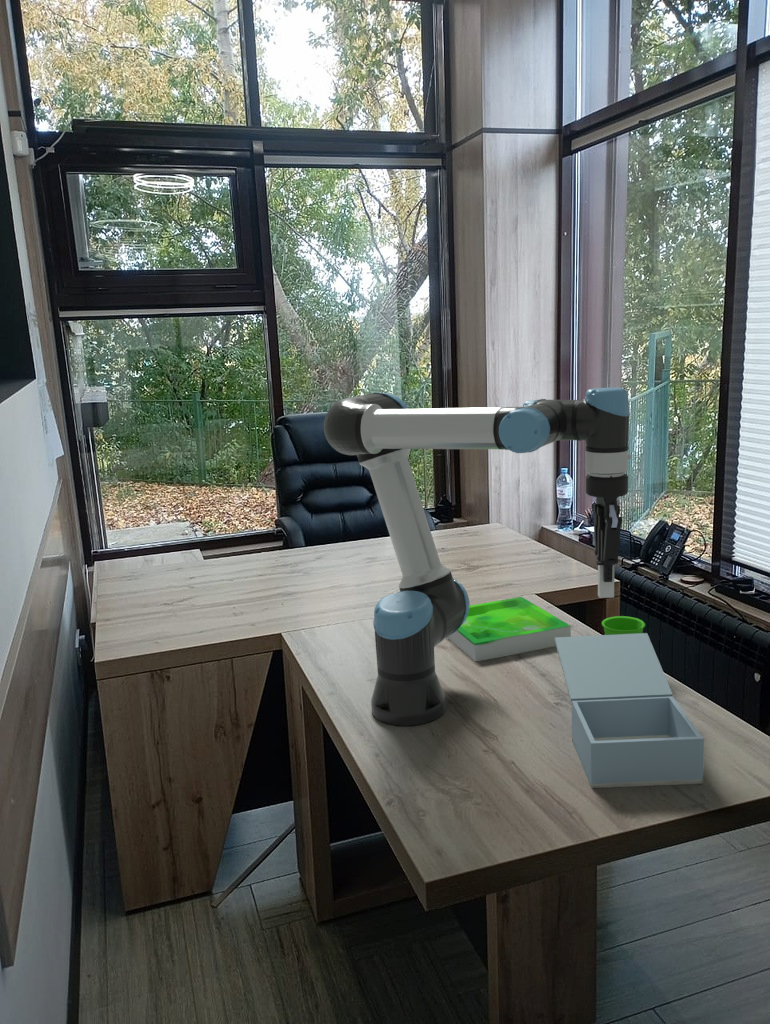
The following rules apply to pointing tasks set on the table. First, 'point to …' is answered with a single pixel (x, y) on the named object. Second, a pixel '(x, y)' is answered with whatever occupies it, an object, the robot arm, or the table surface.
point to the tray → (507, 629)
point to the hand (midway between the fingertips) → (605, 596)
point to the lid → (611, 667)
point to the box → (636, 742)
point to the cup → (622, 625)
